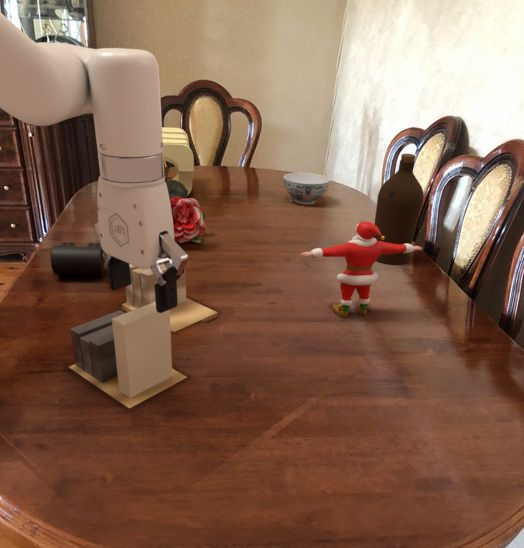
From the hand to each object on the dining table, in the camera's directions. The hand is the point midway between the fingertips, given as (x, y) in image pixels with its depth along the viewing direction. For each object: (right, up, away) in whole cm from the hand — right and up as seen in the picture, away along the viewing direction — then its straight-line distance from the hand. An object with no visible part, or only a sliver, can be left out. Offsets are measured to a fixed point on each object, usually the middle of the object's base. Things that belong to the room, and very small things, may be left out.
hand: (143, 297), depth 71 cm
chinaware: (+30, +42, +103) cm, 115 cm away
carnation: (-9, +26, +71) cm, 76 cm away
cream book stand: (-2, 0, +29) cm, 29 cm away
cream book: (-1, -12, +7) cm, 14 cm away
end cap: (-23, +9, +42) cm, 48 cm away
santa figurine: (+34, 0, +34) cm, 48 cm away
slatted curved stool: (-15, +45, +103) cm, 113 cm away
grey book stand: (-5, -11, +10) cm, 16 cm away
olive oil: (+48, +16, +62) cm, 80 cm away
